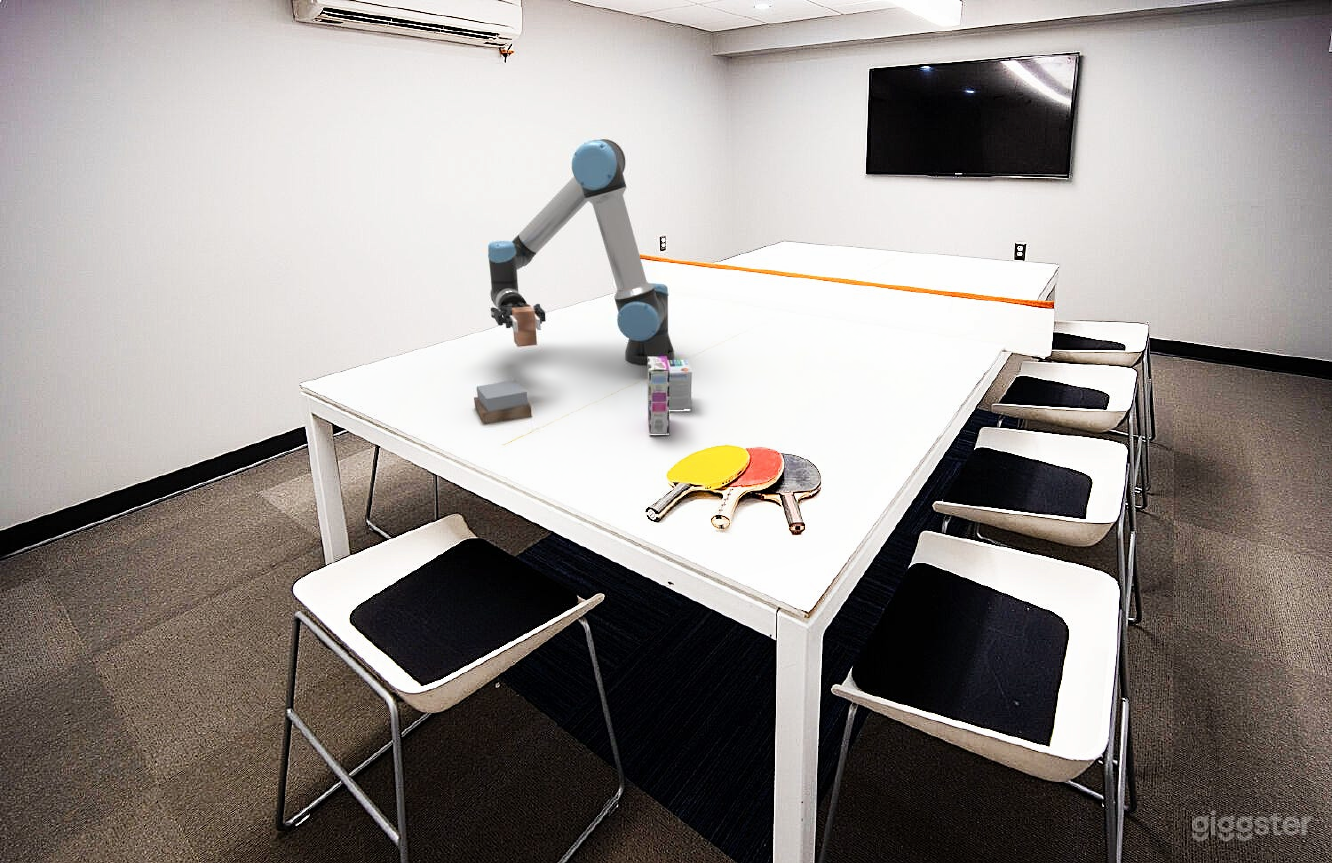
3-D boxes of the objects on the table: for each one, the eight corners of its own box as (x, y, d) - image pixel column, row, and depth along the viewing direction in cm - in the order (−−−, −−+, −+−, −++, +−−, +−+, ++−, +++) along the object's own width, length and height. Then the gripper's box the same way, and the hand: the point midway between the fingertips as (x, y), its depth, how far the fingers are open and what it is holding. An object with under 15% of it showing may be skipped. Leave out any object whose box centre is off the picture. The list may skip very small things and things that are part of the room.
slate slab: (516, 392, 191) (514, 380, 189) (527, 405, 183) (526, 391, 181) (477, 399, 187) (476, 386, 185) (488, 412, 179) (486, 398, 177)
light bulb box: (662, 398, 195) (662, 359, 191) (687, 397, 195) (687, 358, 191) (666, 412, 185) (665, 372, 181) (692, 411, 186) (692, 371, 181)
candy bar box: (670, 436, 172) (670, 369, 165) (649, 436, 171) (648, 370, 165) (667, 418, 182) (667, 355, 175) (647, 418, 182) (646, 355, 175)
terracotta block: (533, 339, 193) (530, 306, 190) (537, 345, 189) (534, 310, 185) (514, 341, 192) (511, 308, 188) (517, 346, 187) (514, 312, 184)
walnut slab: (521, 403, 194) (520, 390, 192) (531, 418, 184) (530, 405, 182) (475, 410, 189) (473, 397, 188) (483, 426, 179) (482, 413, 178)
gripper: (544, 315, 208) (563, 336, 188) (479, 321, 202) (492, 343, 182) (542, 289, 205) (562, 308, 185) (477, 294, 199) (489, 314, 179)
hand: (527, 325), depth 183 cm, fingers closed on terracotta block, 5 cm apart
